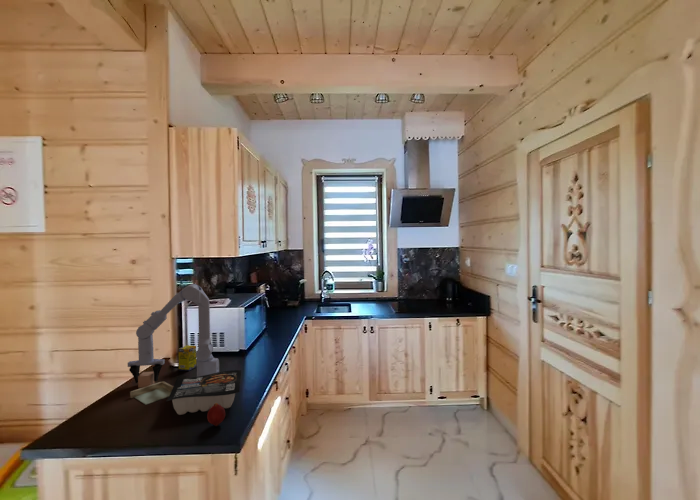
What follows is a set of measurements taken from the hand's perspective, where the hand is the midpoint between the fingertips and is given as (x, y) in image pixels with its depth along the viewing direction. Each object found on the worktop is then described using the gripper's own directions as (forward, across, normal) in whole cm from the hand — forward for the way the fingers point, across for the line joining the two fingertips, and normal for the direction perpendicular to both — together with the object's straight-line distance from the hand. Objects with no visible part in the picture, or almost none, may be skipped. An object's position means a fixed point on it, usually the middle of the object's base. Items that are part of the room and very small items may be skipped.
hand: (146, 381), depth 152 cm
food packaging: (+2, -31, +21) cm, 38 cm away
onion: (+2, -39, +41) cm, 57 cm away
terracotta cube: (+2, 0, 0) cm, 2 cm away
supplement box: (+2, -12, -17) cm, 21 cm away
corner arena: (+1, -8, +12) cm, 14 cm away
